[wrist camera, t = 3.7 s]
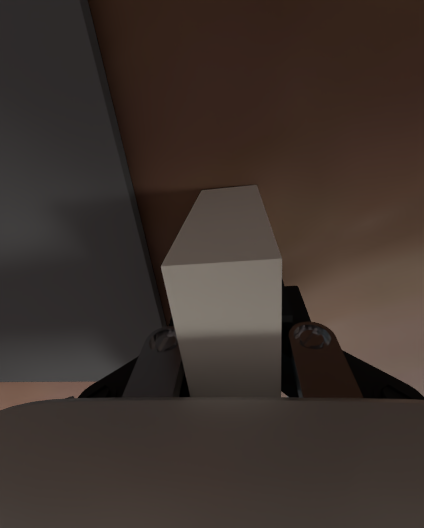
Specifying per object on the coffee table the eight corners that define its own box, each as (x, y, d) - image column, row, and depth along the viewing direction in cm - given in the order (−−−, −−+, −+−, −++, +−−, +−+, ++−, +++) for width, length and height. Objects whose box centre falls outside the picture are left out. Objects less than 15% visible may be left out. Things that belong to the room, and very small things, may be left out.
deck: (258, 184, 10) (286, 258, 5) (264, 353, 14) (282, 503, 9) (201, 190, 11) (160, 266, 5) (222, 354, 15) (213, 500, 9)
